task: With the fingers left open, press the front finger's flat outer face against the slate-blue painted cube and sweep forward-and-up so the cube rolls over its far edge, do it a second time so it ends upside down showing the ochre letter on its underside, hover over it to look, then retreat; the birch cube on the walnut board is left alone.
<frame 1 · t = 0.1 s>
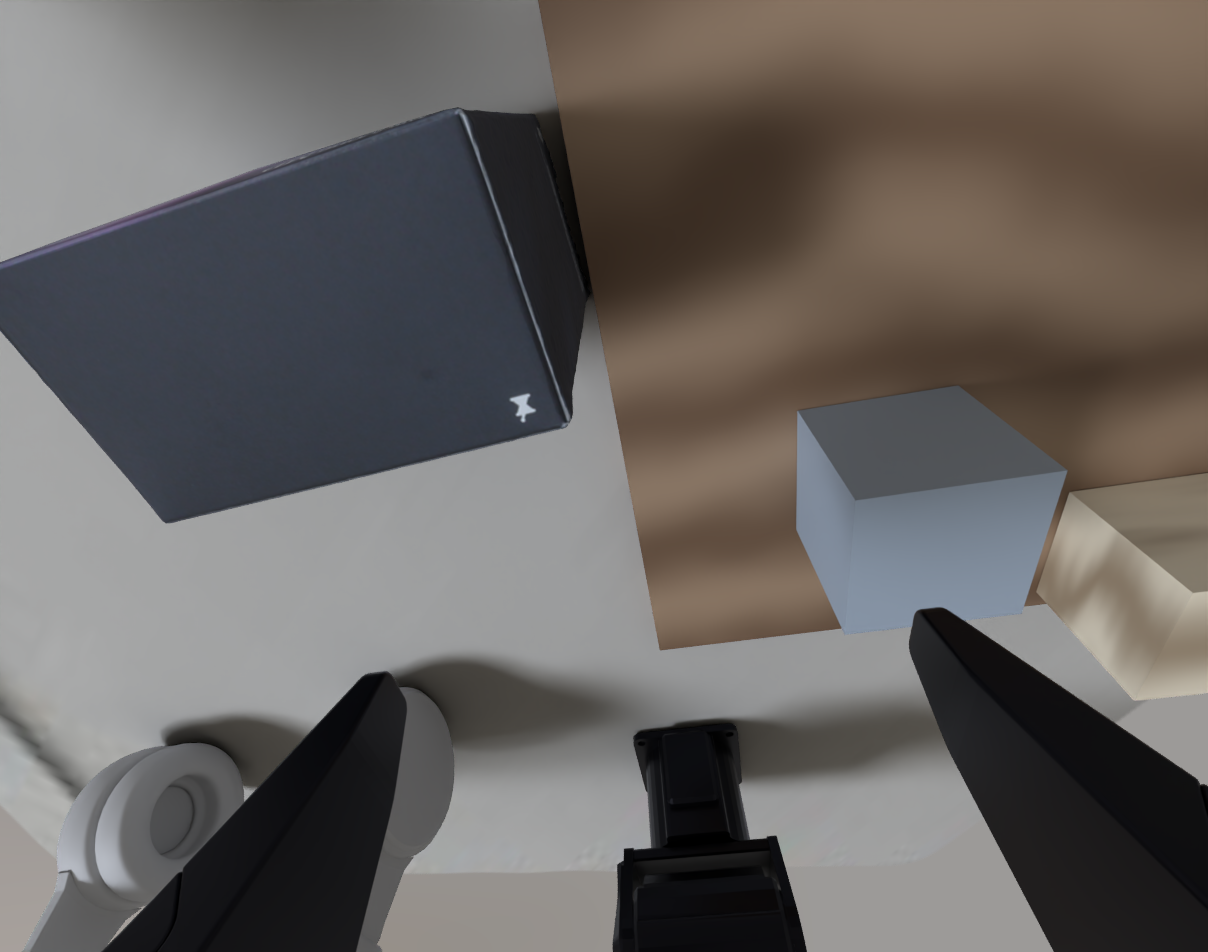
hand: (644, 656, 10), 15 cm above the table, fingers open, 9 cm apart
walnut board: (930, 362, 22), on the table
slate cube: (870, 463, 23), point 1 cm above the table, touching walnut board
headphones: (301, 726, 36), on the table
small box: (426, 248, 20), on the table
birch cube: (1122, 535, 25), point 1 cm above the table, touching walnut board
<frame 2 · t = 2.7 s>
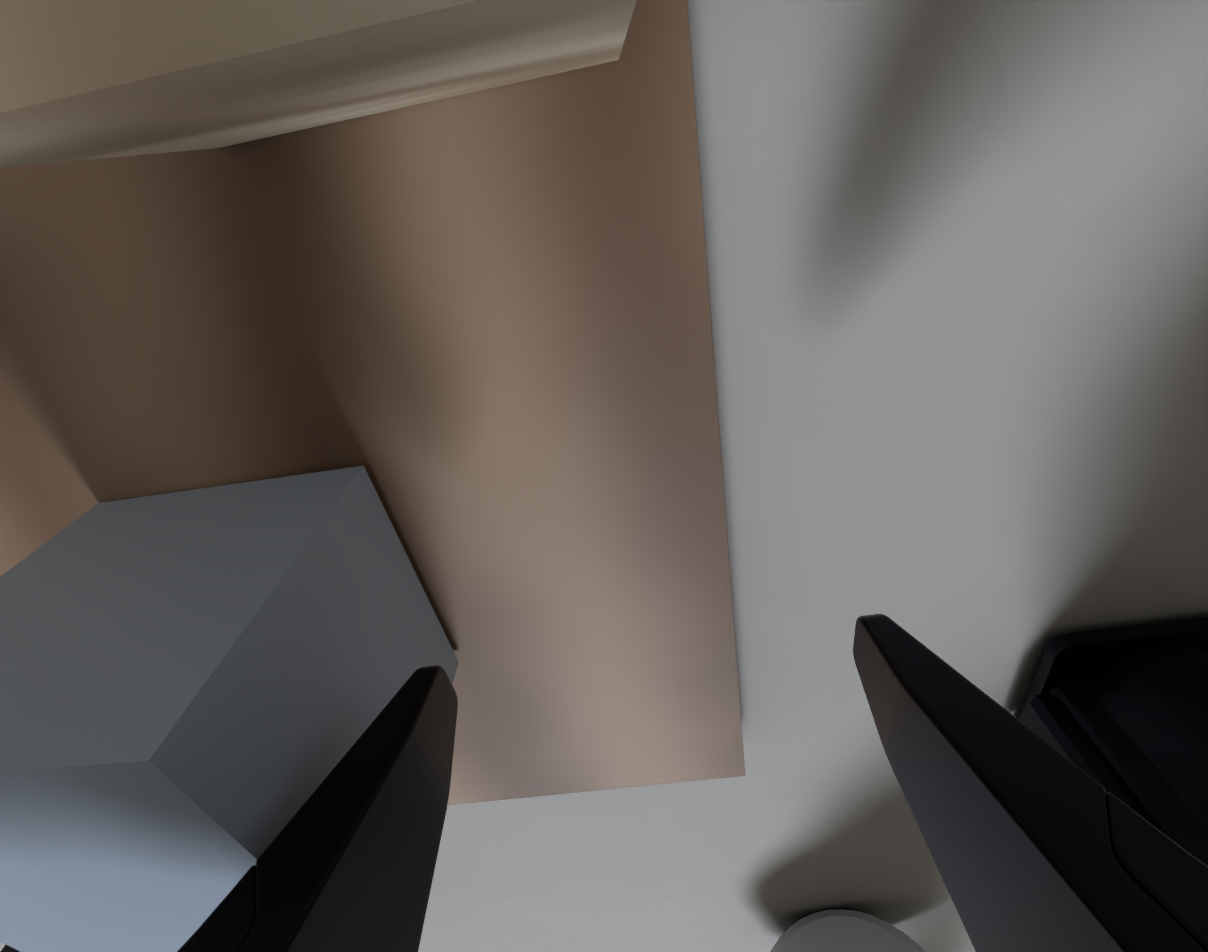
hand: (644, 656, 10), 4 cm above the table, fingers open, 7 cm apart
walnut board: (132, 493, 13), on the table
slate cube: (295, 590, 13), point 1 cm above the table, touching gripper, walnut board
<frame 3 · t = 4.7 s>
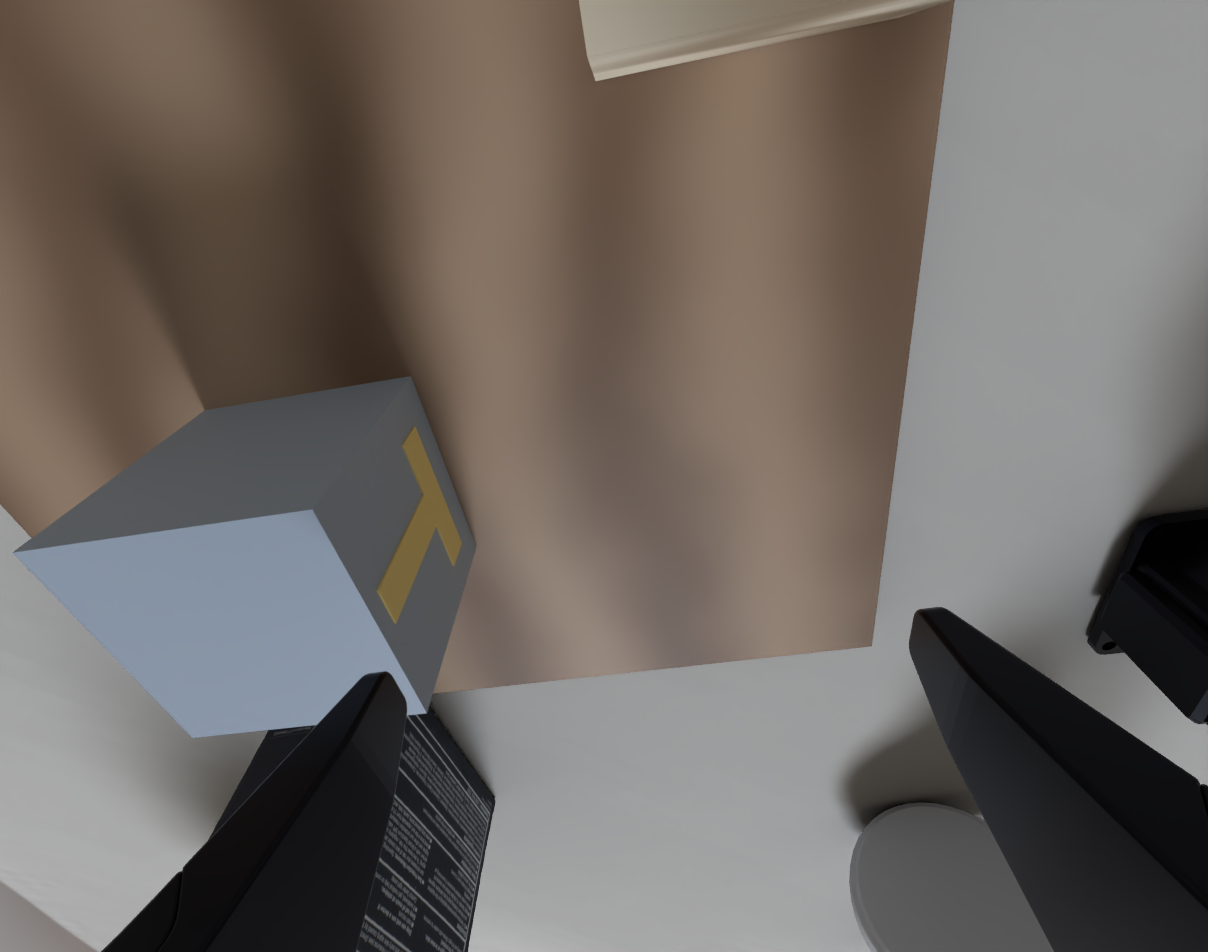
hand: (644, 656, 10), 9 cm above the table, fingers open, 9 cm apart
walnut board: (412, 378, 16), on the table
slate cube: (418, 533, 14), point 4 cm above the table, tilted 90°, touching walnut board
headphones: (913, 875, 34), on the table
small box: (397, 748, 27), on the table
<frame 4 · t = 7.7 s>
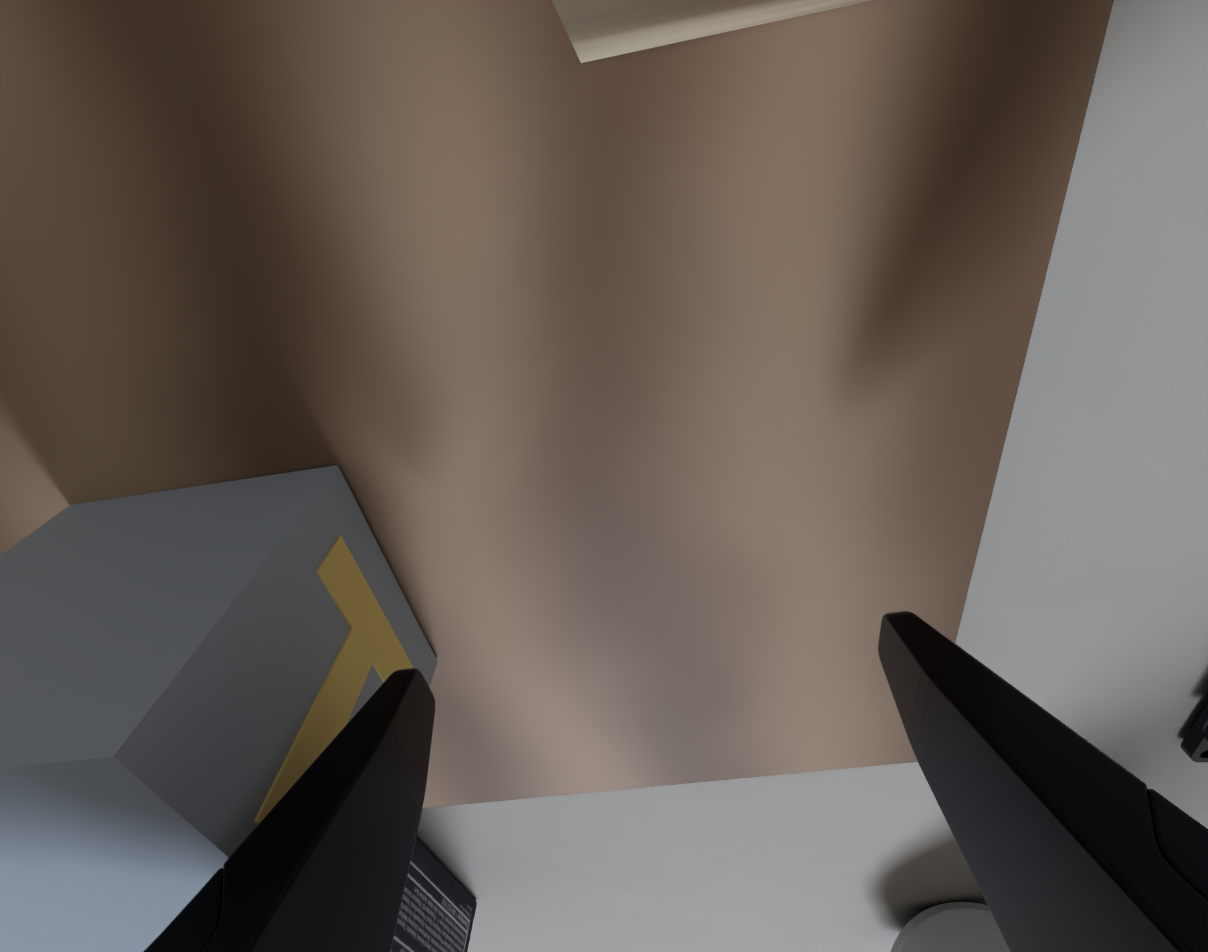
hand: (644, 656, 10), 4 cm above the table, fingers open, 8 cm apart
walnut board: (348, 457, 13), on the table
slate cube: (340, 689, 10), point 4 cm above the table, tilted 91°, touching gripper, walnut board
small box: (361, 851, 23), on the table
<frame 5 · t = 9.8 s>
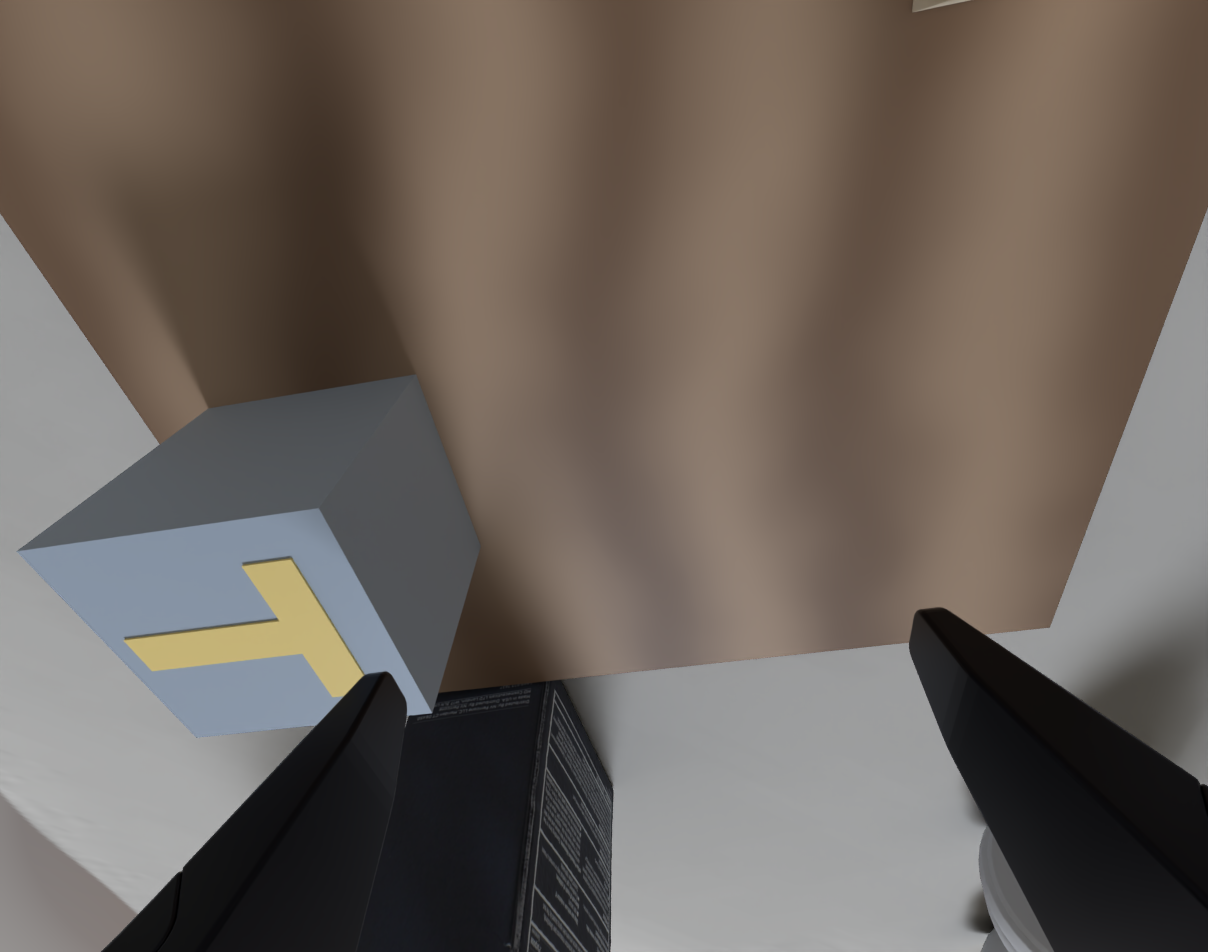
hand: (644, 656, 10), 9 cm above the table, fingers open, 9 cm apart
walnut board: (622, 343, 16), on the table
slate cube: (247, 641, 12), point 7 cm above the table, tilted 180°, touching walnut board
headphones: (1020, 867, 33), on the table
small box: (521, 736, 26), on the table
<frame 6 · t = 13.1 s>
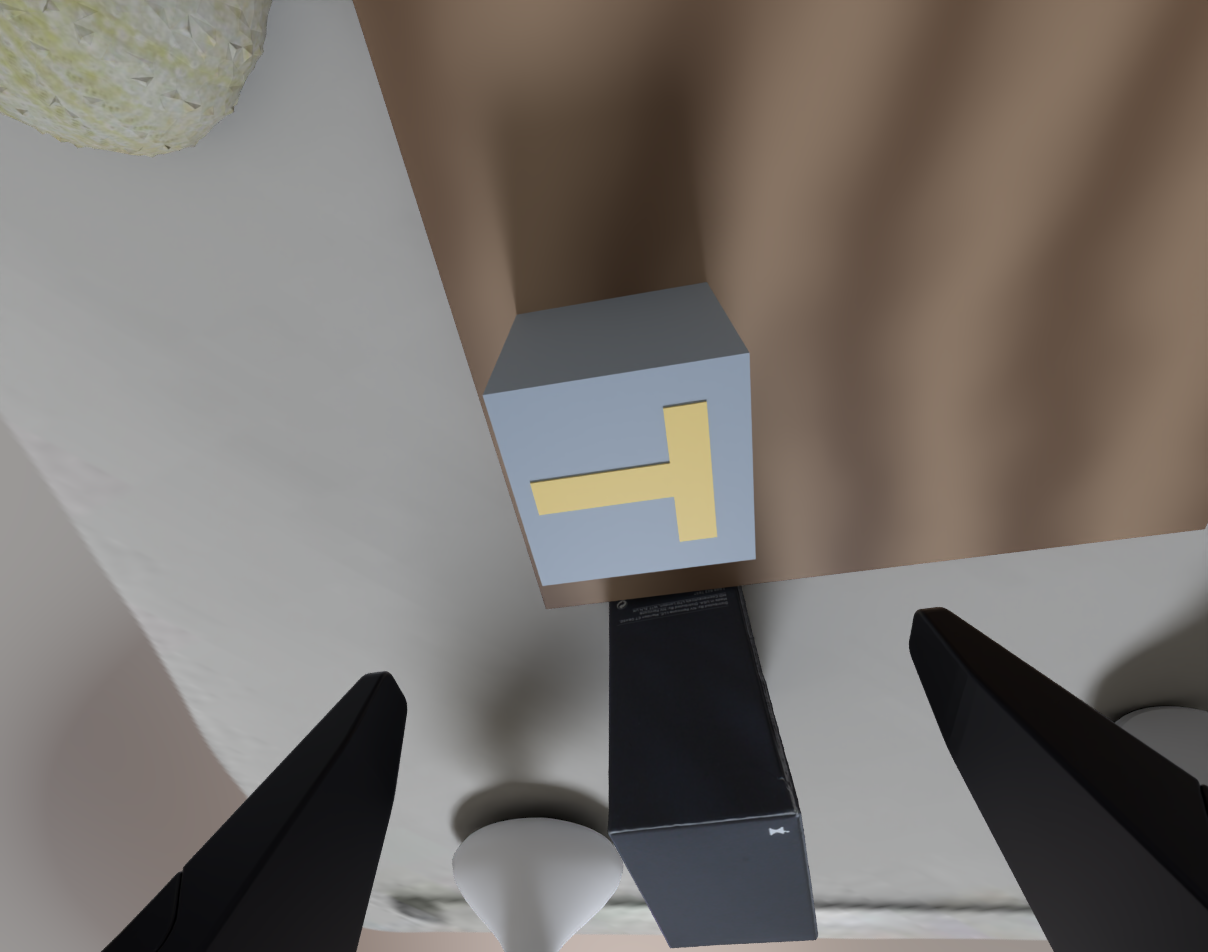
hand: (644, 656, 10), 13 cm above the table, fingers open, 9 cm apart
walnut board: (874, 258, 18), on the table
slate cube: (632, 484, 14), point 7 cm above the table, tilted 180°, touching walnut board
headphones: (1117, 788, 36), on the table
small box: (687, 651, 29), on the table
flower in vase: (552, 837, 39), on the table
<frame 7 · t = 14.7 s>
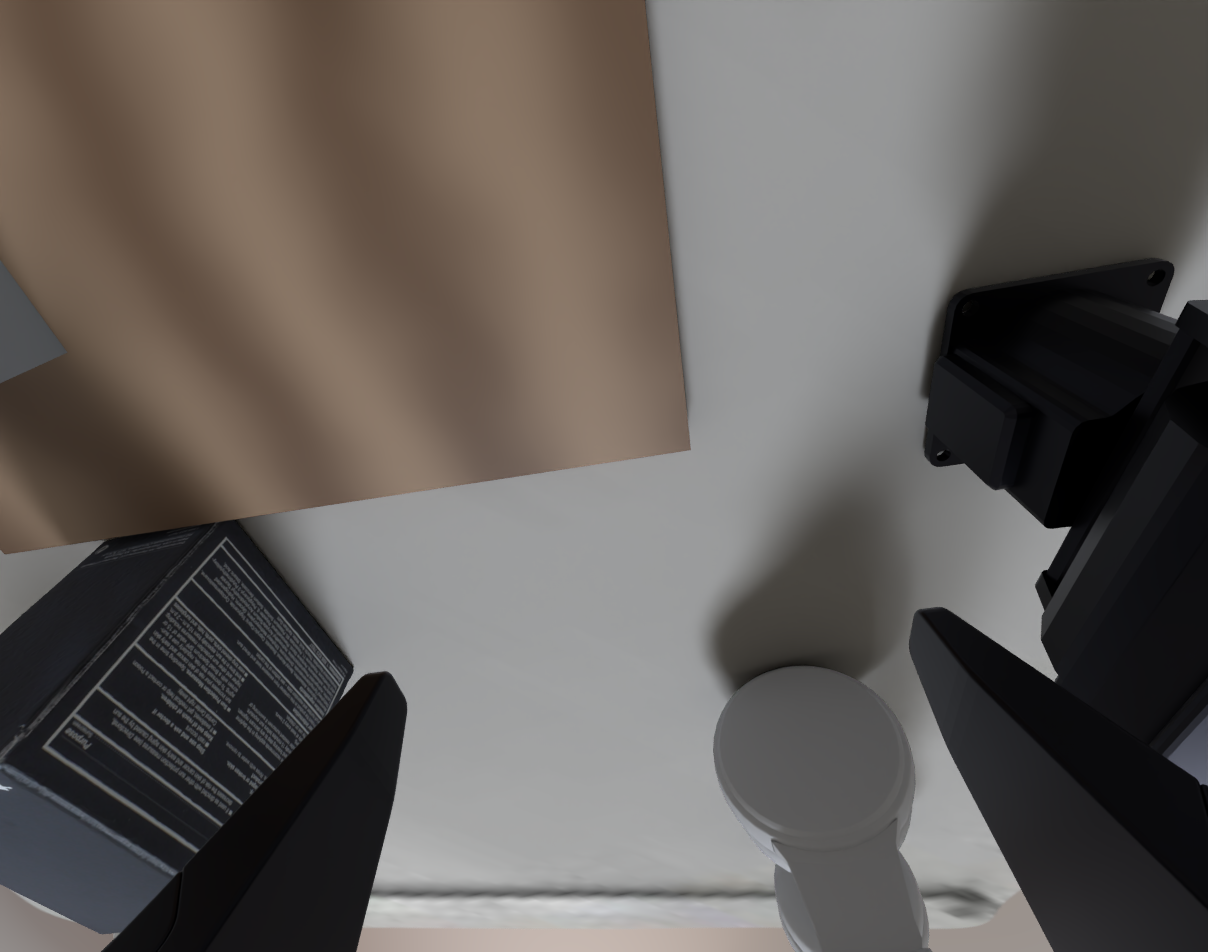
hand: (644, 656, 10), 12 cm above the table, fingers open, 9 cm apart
walnut board: (147, 111, 15), on the table
headphones: (805, 761, 33), on the table
small box: (240, 607, 26), on the table
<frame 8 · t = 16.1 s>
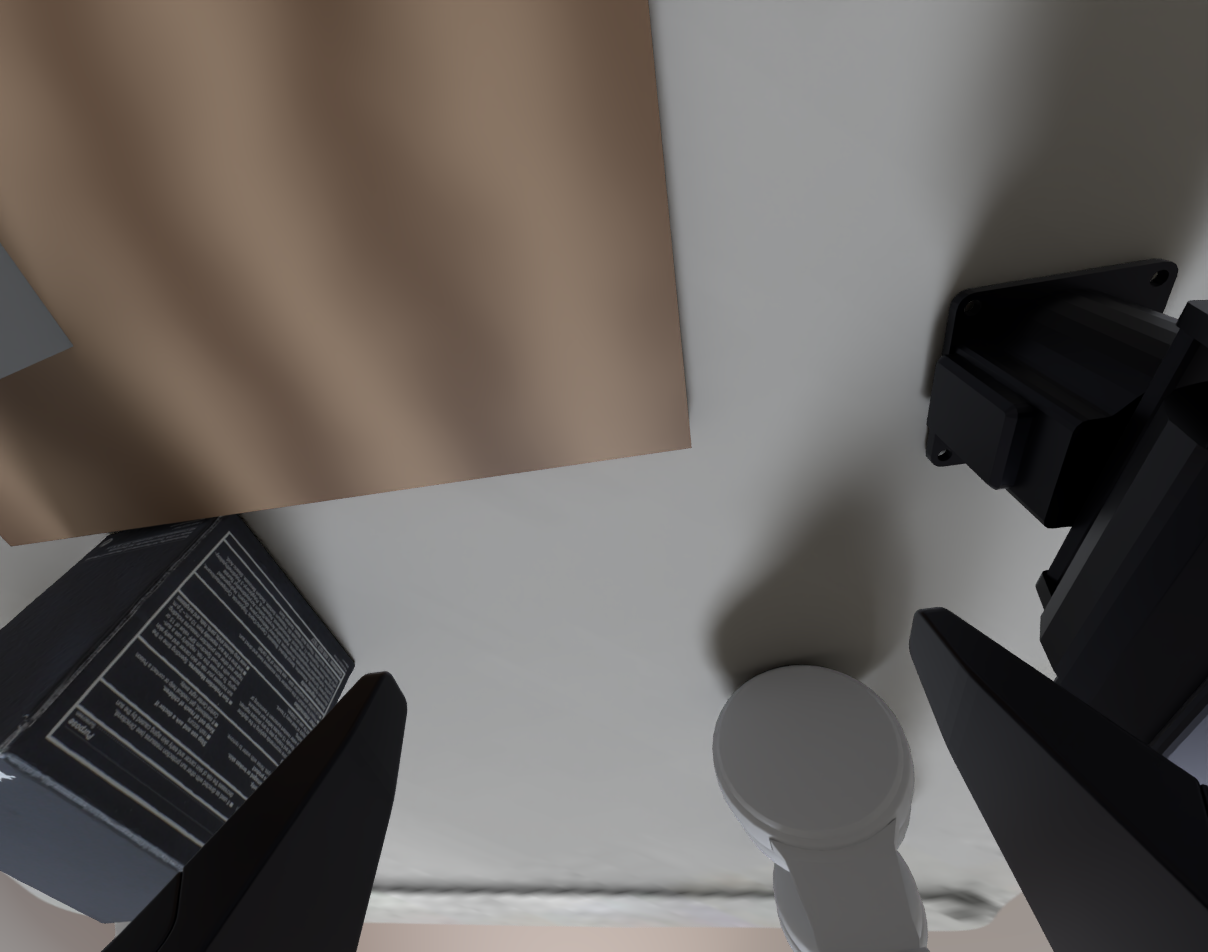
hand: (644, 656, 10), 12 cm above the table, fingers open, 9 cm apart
walnut board: (153, 106, 15), on the table
headphones: (805, 760, 33), on the table
small box: (243, 601, 26), on the table
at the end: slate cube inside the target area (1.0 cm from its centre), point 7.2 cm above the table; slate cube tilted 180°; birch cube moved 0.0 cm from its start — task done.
